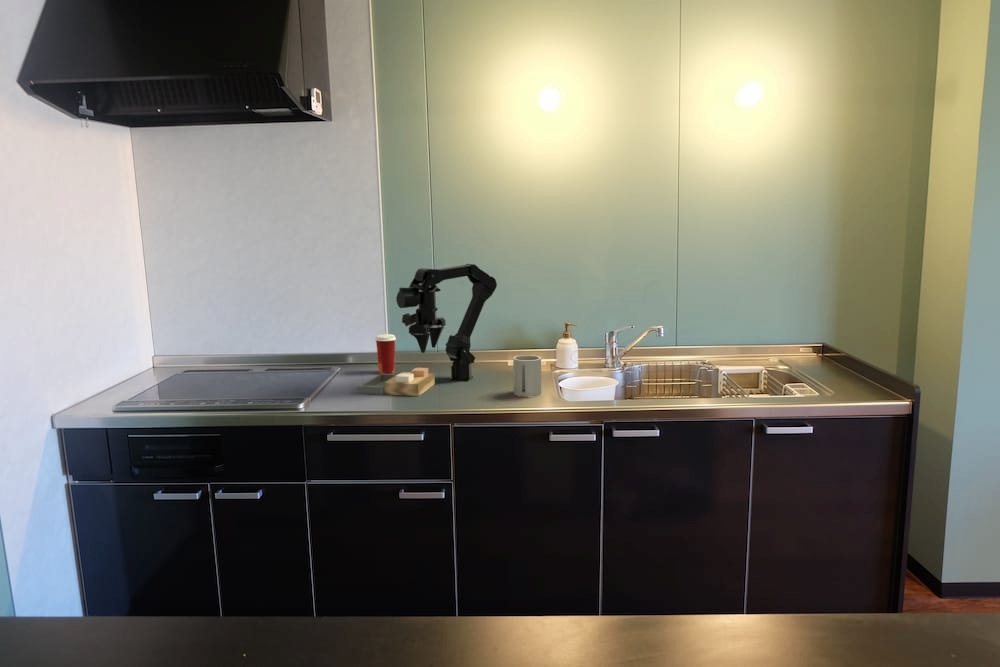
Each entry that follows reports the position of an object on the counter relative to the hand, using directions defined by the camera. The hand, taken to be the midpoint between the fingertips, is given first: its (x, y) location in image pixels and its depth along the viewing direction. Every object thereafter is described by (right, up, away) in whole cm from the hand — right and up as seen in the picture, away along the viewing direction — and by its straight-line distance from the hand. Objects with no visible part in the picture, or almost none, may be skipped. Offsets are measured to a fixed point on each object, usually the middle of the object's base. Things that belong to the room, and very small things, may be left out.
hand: (428, 350), depth 237 cm
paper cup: (-18, -9, +22) cm, 30 cm away
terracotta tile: (-3, -9, 0) cm, 9 cm away
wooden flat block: (-6, -13, -4) cm, 15 cm away
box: (-16, -13, -1) cm, 20 cm away
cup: (+34, -14, -10) cm, 38 cm away
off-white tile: (-7, -10, -9) cm, 15 cm away
